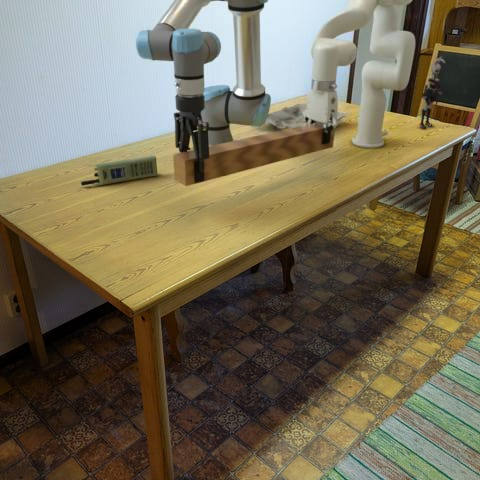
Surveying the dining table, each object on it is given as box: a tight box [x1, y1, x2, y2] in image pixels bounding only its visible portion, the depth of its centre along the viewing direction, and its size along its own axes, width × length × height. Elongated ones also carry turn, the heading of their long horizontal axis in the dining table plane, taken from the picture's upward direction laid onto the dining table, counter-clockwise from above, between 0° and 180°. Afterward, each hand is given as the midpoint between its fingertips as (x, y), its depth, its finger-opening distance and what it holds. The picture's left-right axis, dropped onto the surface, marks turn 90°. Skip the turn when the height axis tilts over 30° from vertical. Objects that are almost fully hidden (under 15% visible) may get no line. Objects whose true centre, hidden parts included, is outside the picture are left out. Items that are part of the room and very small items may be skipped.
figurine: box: [419, 56, 446, 130], centre depth 216 cm, size 15×6×30 cm, turn 132°
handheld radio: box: [80, 155, 159, 187], centre depth 164 cm, size 7×3×25 cm
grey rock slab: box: [265, 103, 350, 131], centre depth 219 cm, size 38×6×30 cm
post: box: [173, 122, 336, 187], centre depth 153 cm, size 58×6×7 cm, turn 127°
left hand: (192, 177), depth 142 cm, fingers closed on post, 6 cm apart
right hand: (318, 140), depth 167 cm, fingers closed on post, 6 cm apart
